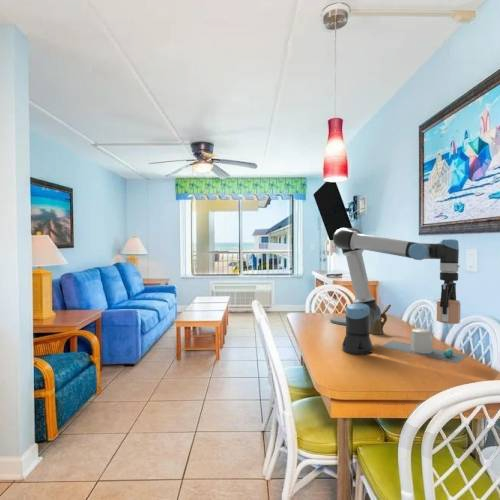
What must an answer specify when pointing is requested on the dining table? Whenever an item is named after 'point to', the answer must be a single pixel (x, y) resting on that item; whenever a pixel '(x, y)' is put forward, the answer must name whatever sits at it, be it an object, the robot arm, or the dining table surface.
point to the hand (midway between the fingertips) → (448, 319)
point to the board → (435, 354)
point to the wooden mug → (379, 323)
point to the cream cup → (421, 340)
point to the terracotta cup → (450, 312)
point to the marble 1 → (447, 354)
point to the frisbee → (339, 320)
